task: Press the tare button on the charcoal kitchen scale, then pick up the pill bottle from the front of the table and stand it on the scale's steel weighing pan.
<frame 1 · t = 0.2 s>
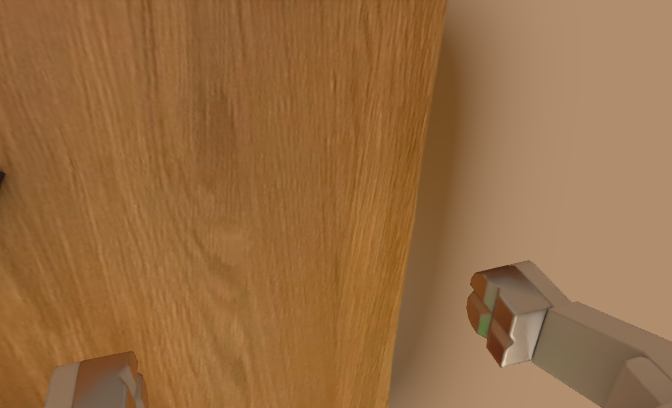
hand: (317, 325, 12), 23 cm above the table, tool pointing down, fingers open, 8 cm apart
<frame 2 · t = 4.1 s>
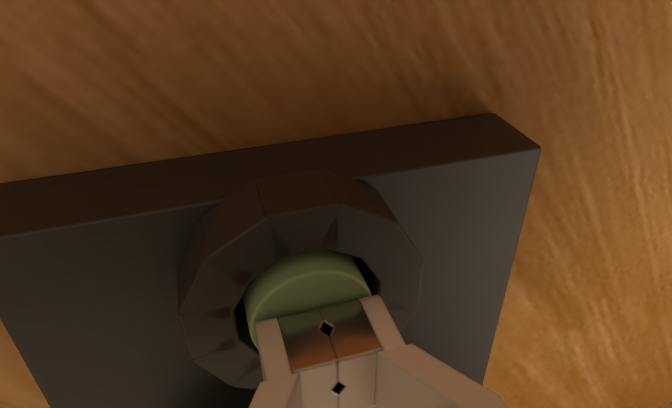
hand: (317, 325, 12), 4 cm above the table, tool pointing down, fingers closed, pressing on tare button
scale: (289, 338, 18), on the table
tare button: (305, 298, 12), point 4 cm above the table, slide at -0.7 cm, touching gripper
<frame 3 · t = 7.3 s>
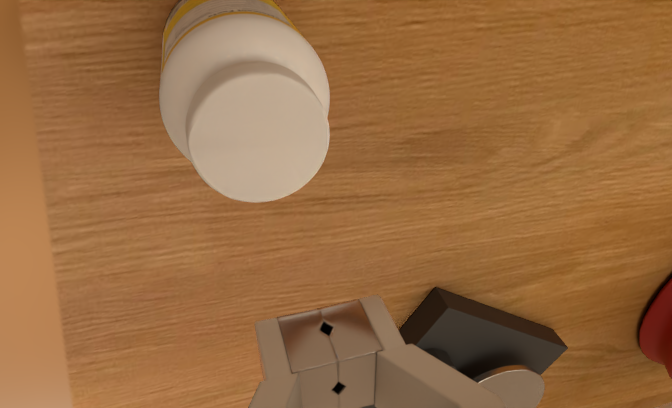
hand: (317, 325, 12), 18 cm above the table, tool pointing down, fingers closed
scale pan: (490, 402, 44), resting on scale
scale: (450, 362, 46), on the table
pill bottle: (228, 44, 26), on the table
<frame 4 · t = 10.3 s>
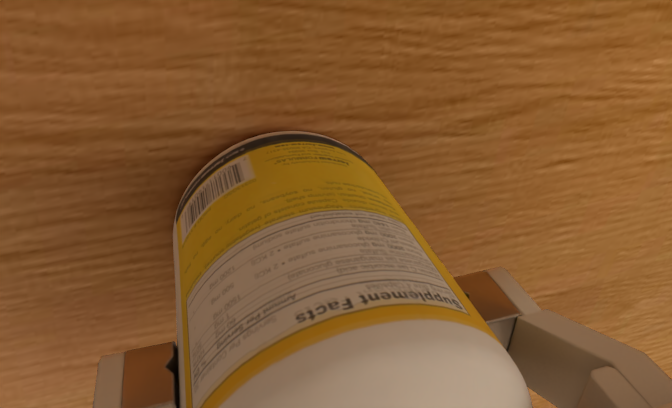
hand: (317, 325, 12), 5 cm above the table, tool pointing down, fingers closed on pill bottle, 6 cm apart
pill bottle: (279, 213, 16), on the table, touching gripper
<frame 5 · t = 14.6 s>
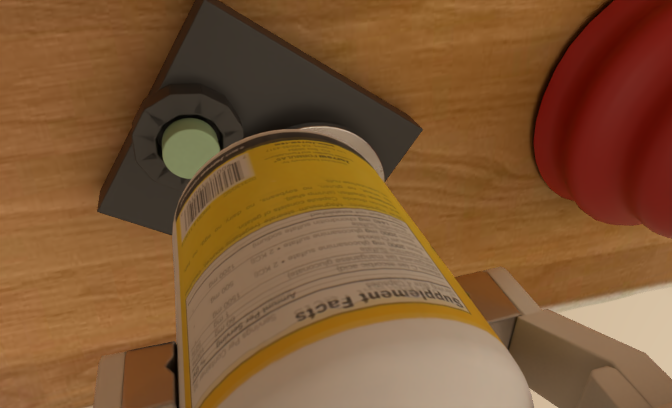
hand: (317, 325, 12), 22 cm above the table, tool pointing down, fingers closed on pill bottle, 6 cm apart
scale pan: (308, 194, 32), resting on scale
table lamp: (633, 95, 41), on the table
scale: (263, 151, 33), on the table
pill bottle: (278, 211, 16), point 17 cm above the table, touching gripper
tare button: (191, 148, 27), point 4 cm above the table, slide at 0.1 cm
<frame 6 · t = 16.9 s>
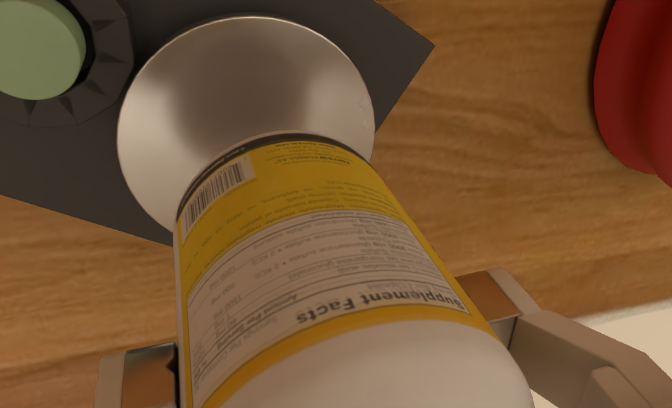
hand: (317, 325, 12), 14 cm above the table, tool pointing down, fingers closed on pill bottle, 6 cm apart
scale pan: (253, 142, 20), resting on scale
scale: (189, 80, 22), on the table
pill bottle: (279, 212, 16), point 9 cm above the table, touching gripper
tare button: (29, 45, 15), point 4 cm above the table, slide at 0.1 cm
when the fingers open (9 cm above the table, at t = 18.7 s): pill bottle stays where it is, resting on scale pan.
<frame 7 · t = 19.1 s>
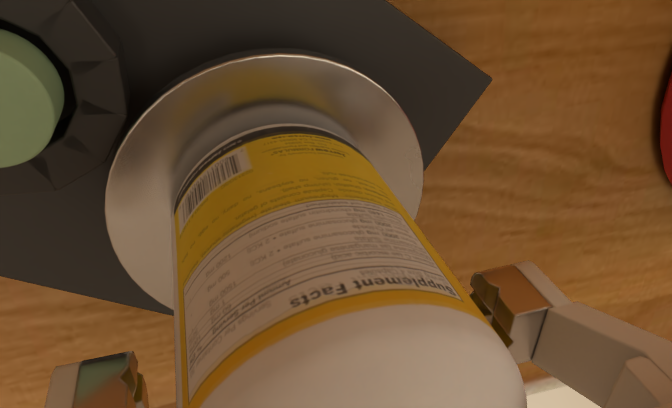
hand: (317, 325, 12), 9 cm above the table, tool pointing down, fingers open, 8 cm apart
scale pan: (274, 202, 16), resting on scale
scale: (195, 120, 18), on the table
pill bottle: (276, 206, 16), point 4 cm above the table, touching scale pan
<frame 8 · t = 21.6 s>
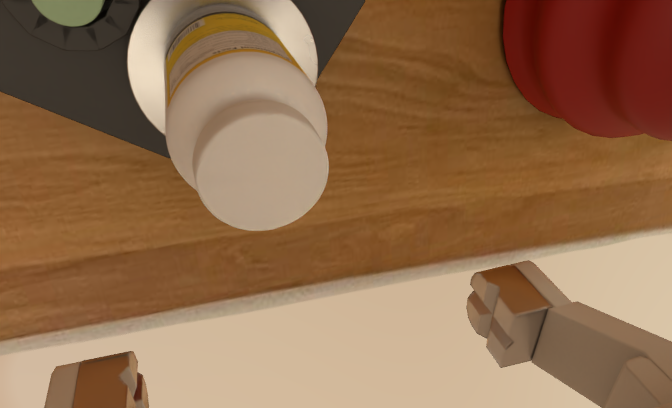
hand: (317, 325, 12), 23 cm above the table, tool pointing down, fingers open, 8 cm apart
scale pan: (226, 69, 27), resting on scale
scale: (180, 26, 29), on the table
pill bottle: (227, 69, 27), point 4 cm above the table, touching scale pan
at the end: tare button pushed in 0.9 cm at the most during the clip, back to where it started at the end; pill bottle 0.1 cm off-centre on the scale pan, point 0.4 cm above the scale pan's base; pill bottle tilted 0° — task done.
